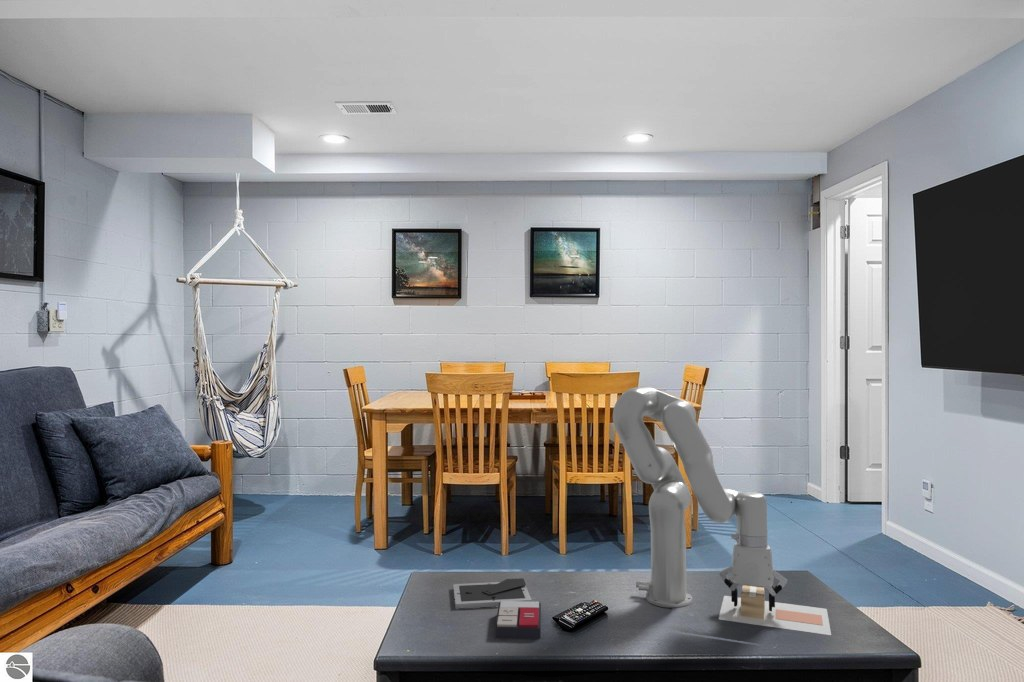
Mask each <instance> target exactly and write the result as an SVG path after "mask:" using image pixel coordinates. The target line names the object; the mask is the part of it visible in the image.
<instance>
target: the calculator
mask: <svg viewBox="0 0 1024 682" xmlns="http://www.w3.org/2000/svg"><path fill="white" fill-rule="evenodd" d="M495 618H496V620H495V623H494V624H495V625H494V638H495V639H509V638H512V639H518V640H519V639H521V640H540V639H541V638H542V637H541V633H542V631H541V629H542V628H541V627H542V626H541V625H542V624H541V623H542V603H541V602H539V601H533V600H532V601H501V602H499V606H498V607H497V614H496V617H495Z"/></svg>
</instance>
